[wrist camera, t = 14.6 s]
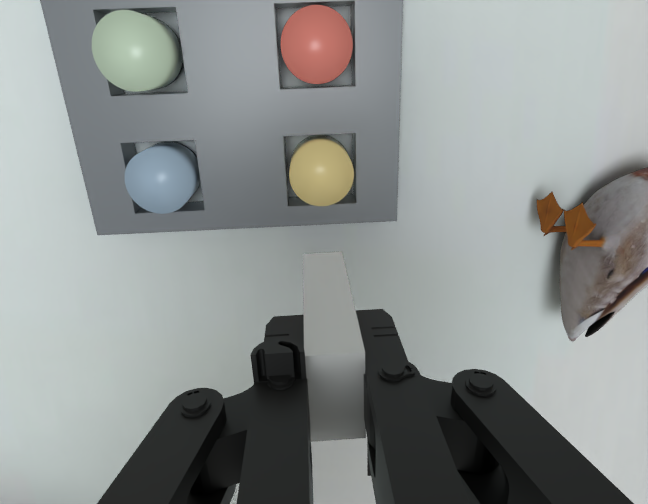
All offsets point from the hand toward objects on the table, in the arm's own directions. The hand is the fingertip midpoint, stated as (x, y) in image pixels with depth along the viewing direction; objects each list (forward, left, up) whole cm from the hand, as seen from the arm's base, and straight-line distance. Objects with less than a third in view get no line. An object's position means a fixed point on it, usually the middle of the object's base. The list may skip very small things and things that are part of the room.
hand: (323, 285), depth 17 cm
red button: (+1, +9, -18) cm, 20 cm away
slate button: (-10, +1, -18) cm, 21 cm away
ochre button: (+1, +1, -18) cm, 18 cm away
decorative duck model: (+24, -6, -19) cm, 31 cm away
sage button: (-10, +9, -17) cm, 22 cm away
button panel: (-5, +5, -19) cm, 20 cm away
